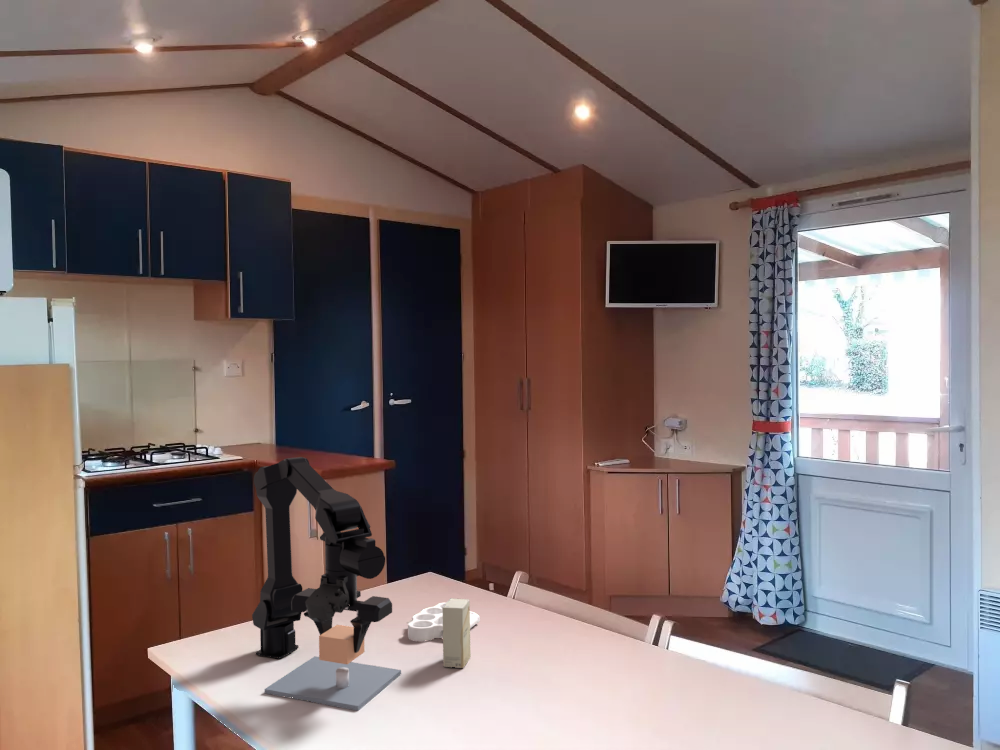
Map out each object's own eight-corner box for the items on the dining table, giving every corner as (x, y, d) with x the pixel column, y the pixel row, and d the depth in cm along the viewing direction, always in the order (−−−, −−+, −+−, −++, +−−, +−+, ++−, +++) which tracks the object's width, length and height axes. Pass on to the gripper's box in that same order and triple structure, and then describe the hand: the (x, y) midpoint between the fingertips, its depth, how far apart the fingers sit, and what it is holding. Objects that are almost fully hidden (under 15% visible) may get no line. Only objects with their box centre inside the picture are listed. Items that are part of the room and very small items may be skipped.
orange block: (319, 659, 137) (319, 635, 137) (337, 647, 143) (337, 624, 143) (347, 664, 135) (347, 640, 135) (364, 652, 141) (364, 628, 141)
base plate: (264, 693, 138) (264, 673, 138) (314, 660, 153) (314, 641, 153) (358, 710, 131) (357, 689, 131) (401, 674, 146) (400, 654, 146)
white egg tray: (451, 649, 160) (392, 639, 165) (485, 621, 176) (431, 613, 182) (451, 633, 159) (392, 624, 165) (485, 607, 176) (431, 599, 182)
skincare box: (463, 669, 148) (463, 608, 148) (442, 667, 149) (441, 607, 149) (471, 656, 154) (470, 598, 154) (450, 655, 155) (450, 597, 155)
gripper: (272, 574, 134) (273, 659, 135) (362, 584, 128) (362, 674, 128) (308, 558, 145) (309, 637, 145) (393, 567, 138) (394, 650, 139)
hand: (341, 649), depth 139 cm, fingers closed on orange block, 6 cm apart
